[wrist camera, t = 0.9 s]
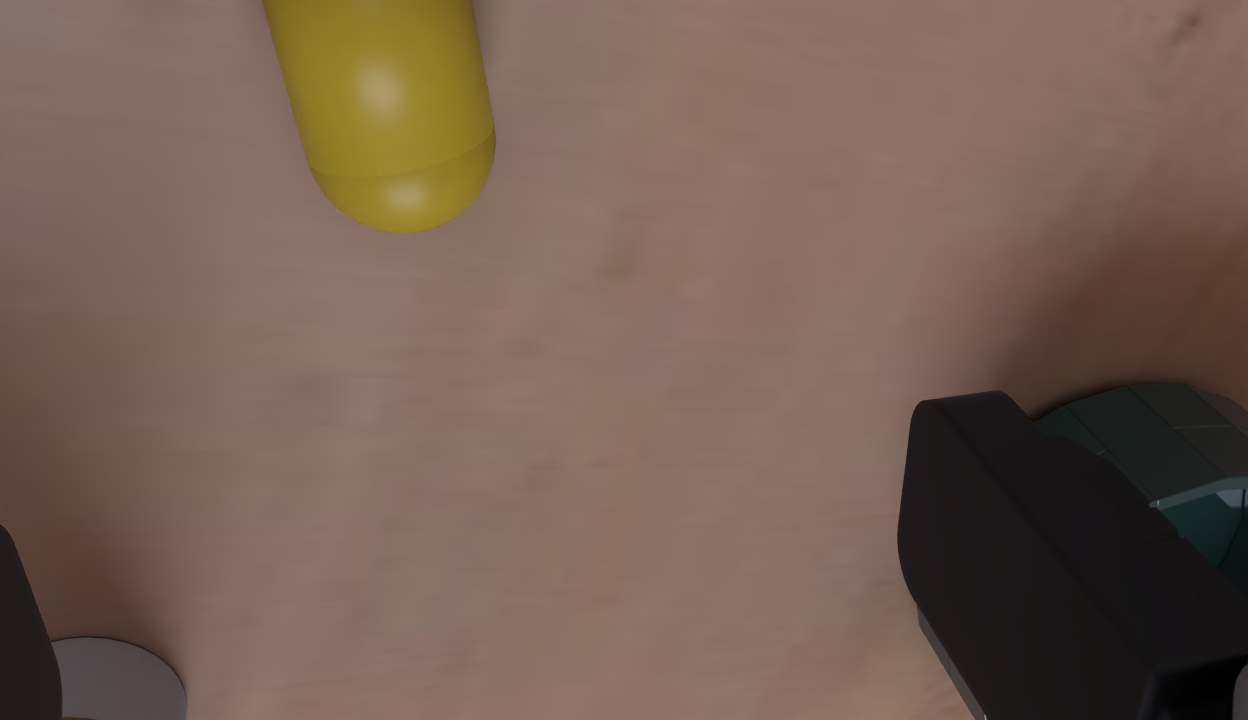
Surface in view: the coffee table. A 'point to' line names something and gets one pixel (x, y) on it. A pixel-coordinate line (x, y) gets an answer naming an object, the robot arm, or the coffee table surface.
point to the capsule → (388, 105)
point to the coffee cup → (116, 682)
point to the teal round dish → (1163, 471)
